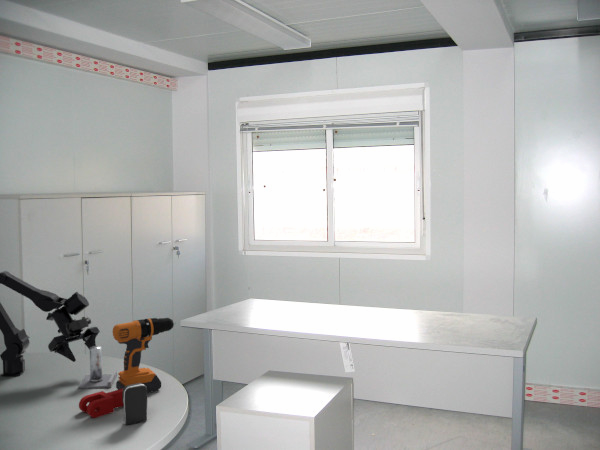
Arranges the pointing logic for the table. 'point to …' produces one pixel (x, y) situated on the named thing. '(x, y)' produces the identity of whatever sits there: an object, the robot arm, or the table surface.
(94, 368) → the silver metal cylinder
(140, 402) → the battery charger
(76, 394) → the table surface
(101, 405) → the mechanical linkage
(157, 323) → the power drill
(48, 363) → the table surface
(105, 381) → the bracket
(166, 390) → the table surface
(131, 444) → the table surface
